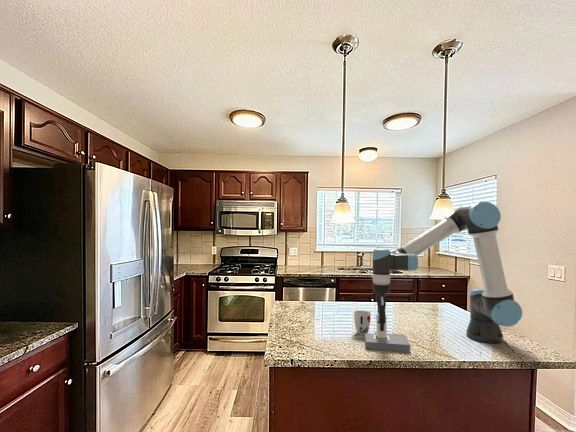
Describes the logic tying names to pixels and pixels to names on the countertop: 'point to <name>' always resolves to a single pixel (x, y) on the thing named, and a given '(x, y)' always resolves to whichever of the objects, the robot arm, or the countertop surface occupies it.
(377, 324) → the block
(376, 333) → the phone
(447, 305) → the countertop surface
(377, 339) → the plate
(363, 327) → the cup
